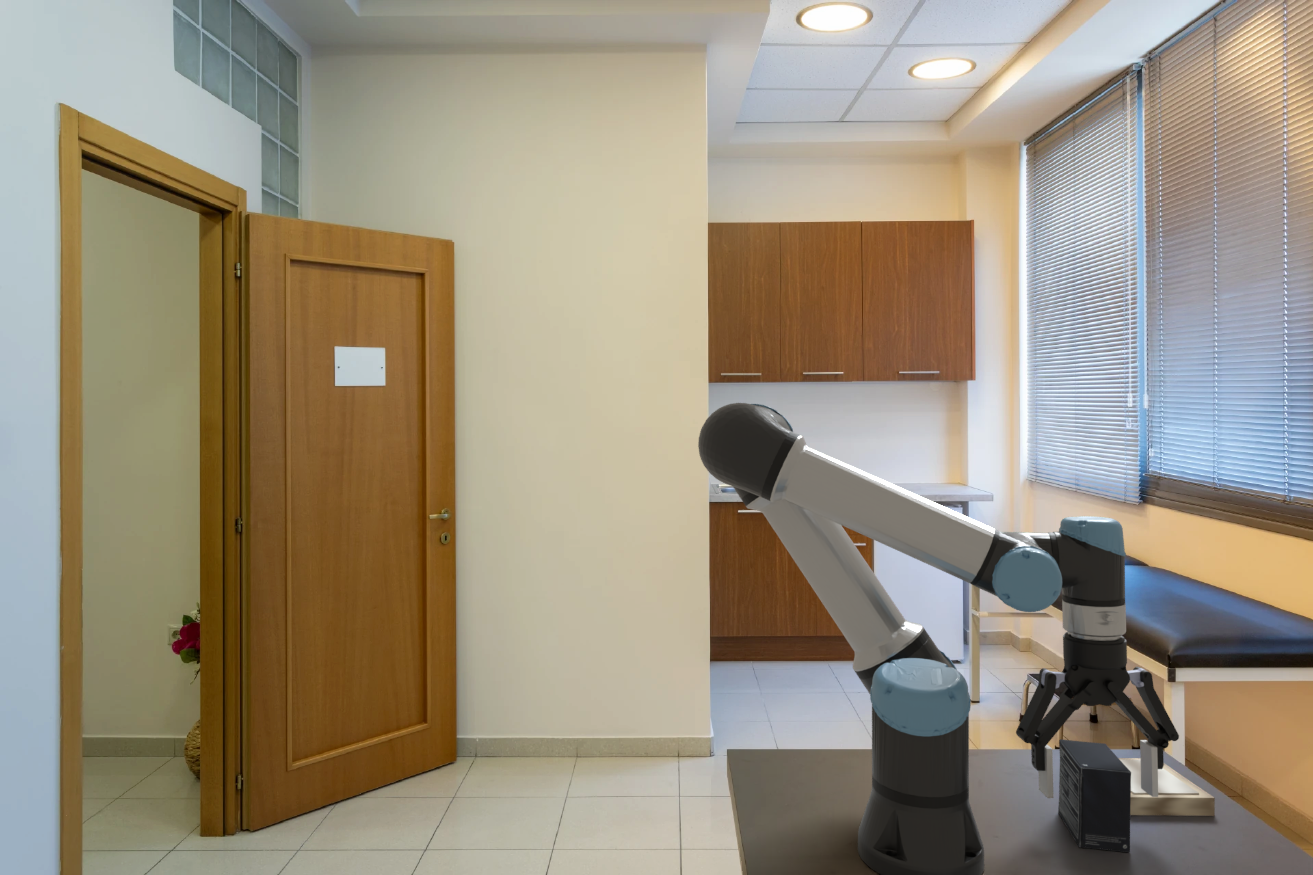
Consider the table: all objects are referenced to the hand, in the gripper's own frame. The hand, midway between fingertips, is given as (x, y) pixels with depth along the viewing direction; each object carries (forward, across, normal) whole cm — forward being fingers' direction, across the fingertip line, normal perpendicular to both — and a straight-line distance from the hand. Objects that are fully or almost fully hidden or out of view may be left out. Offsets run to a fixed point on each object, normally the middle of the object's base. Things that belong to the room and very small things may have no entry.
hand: (1097, 793), depth 112 cm
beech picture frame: (+5, +12, +12) cm, 18 cm away
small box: (+5, -1, 0) cm, 5 cm away
